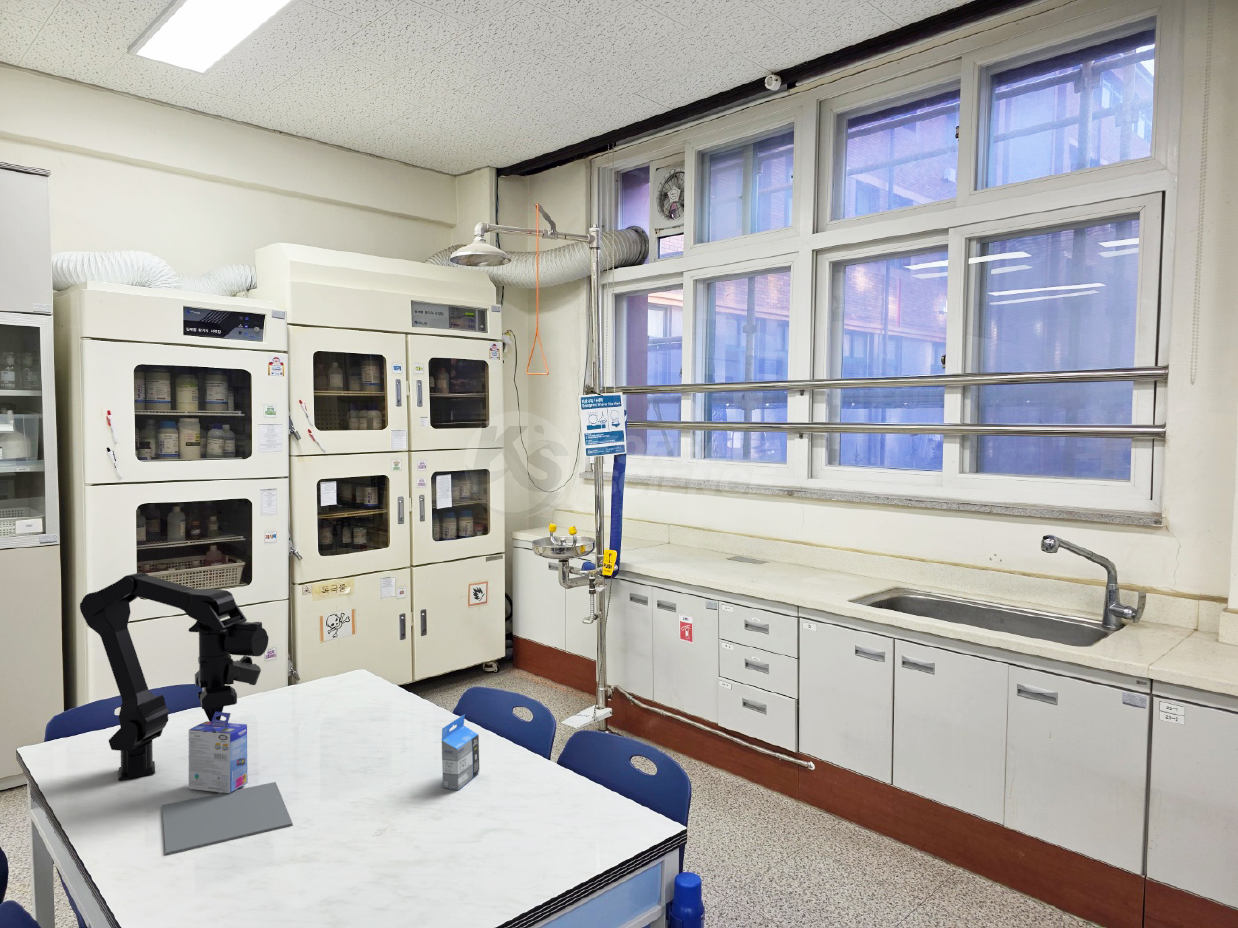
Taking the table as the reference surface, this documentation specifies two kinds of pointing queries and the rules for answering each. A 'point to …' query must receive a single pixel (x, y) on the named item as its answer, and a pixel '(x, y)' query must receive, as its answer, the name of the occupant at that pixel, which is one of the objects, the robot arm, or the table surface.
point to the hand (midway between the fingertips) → (215, 727)
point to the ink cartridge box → (218, 755)
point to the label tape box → (459, 754)
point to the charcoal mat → (223, 817)
